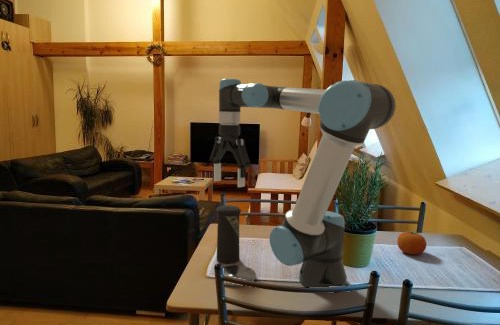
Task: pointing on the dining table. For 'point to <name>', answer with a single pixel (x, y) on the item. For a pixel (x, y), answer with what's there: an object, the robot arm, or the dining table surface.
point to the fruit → (411, 243)
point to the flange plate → (239, 273)
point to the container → (228, 234)
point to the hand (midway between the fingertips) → (228, 183)
